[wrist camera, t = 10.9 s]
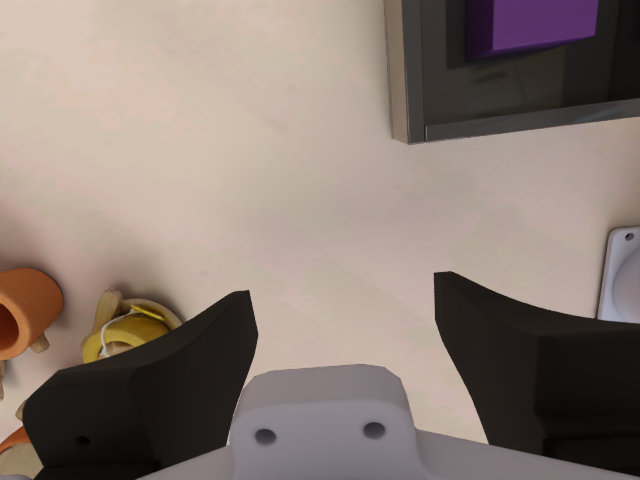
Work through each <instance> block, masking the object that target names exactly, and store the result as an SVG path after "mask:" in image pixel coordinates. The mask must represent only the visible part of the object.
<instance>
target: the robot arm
mask: <svg viewBox="0 0 640 480" xmlns="http://www.w3.org/2000/svg"><path fill="white" fill-rule="evenodd" d="M628 233H629V237H627V238H625V237H626V235H627V234H628ZM434 296H435V321H436V324H437V327H438V330H439V333H440V336H441V339H442V341H443V343H444V345H445V347H446V349H447V351H448V353H449V355H450V357H451V359H452V361H453V363H454V365H455V367H456V368H457V370H458V372H459V374H460V376H461V378H462V380H463V382H464V384H465V386H466V387H467V390H468V392H469V394H470V396H471V398H472V400H473V403H474V406H475V408H476V411H477V413H478V416H479V418H480V421H481V424H482V426H483V429H484V432H485V434H486V437H487V440H488V443H489V445H488V444H484V443H479V442H474V441H470V440H465V439H460V438H456V437H451V436H447V435H442V434H437V433H433V432H428V431H423V430H419V429H416V428H415V426H414V422H413V418H412V414H411V410H410V406H409V402H408V398H407V394H406V392H405V390H404V387H403V385H402V382H401V380H400V378H399V377H397V376H396V375H394V374H393V373H392V372H390V371H389V370H387V369H386V368H384V367H380V366H373V365H366V364H355V365H342V366H328V367H315V368H301V369H288V370H274V371H270V372H267V373H264V374H261V375H258V376H254V378H253V379H252V380H251V381H250V382H249V383H248V384H247V385H246V387H245V388H244V389H243V391H242V388H243V385H244V383H245V380H246V377H247V375H248V372H249V369H250V366H251V364H252V361H253V358H254V354H255V350H256V345H257V339H258V330H257V325H256V321H255V316H254V311H253V306H252V302H251V297H250V292H249V290H245V291H235V292H232V293H230V294H228V295H227V296H225V297H224V298H222V299H221V300H219V301H218V302H216V303H215V304H213V305H212V306H210V307H209V308H207V309H206V310H204V311H203V312H201V313H200V314H198V315H197V316H195V317H194V318H192V319H190V320H189V321H187V322H186V323H184V324H182V325H181V326H179V327H177V328H175V329H174V330H172V331H170V332H168V333H166V334H164V335H162V336H160V337H158V338H156V339H154V340H151V341H149V342H147V343H144V344H142V345H139V346H137V347H135V348H132V349H130V350H127V351H124V352H121V353H119V354H116V355H113V356H110V357H107V358H103V359H100V360H97V361H93V362H90V363H86V364H82V365H78V366H74V367H70V368H66V369H62V370H59V371H57V372H56V373H55V374H54V375H53V376H52V377H50V378H49V379H48V380H47V381H46V382H45V383H44V384H43V385H42V386H41V387H39V388H38V389H37V390H36V391H35V392H34V393H33V394H32V395H31V396H30V397H29V398H28V399H27V400H26V402H25V404H24V407H23V410H22V422H23V425H24V428H25V431H26V434H27V436H28V438H29V439H30V441H31V443H32V445H33V447H34V449H35V451H36V453H37V455H38V457H39V459H40V461H41V463H42V465H43V466H44V467H43V468H42V469H41V470H40V472H39V473H38V474H37V475H36V476H35V478H34V479H32V478H30V477H28V476H26V475H21V474H13V475H0V480H640V226H638V227H628V228H618V229H615V230H613V231H612V232H611V233H610V235H609V240H608V247H607V254H606V261H605V268H604V275H603V282H602V289H601V296H600V303H599V310H598V317H597V319H593V318H586V317H580V316H574V315H569V314H564V313H560V312H556V311H551V310H547V309H543V308H539V307H536V306H533V305H529V304H526V303H523V302H520V301H517V300H514V299H512V298H509V297H507V296H504V295H502V294H499V293H497V292H494V291H492V290H490V289H488V288H486V287H483V286H481V285H479V284H477V283H475V282H473V281H471V280H469V279H467V278H465V277H463V276H461V275H459V274H456V273H454V272H451V271H448V272H437V273H434ZM241 391H242V394H241ZM240 394H241V397H240V399H239V396H240ZM238 399H239V402H238ZM237 402H238V405H237ZM236 405H237V408H236ZM235 408H236V411H235ZM234 411H235V414H234ZM233 414H234V417H233ZM232 418H233V420H232ZM231 422H232V423H231ZM230 426H231V427H230ZM229 430H230V441H229V443H230V445H227V446H226V443H227V438H228V434H229Z"/></svg>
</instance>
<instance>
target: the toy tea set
mask: <svg viewBox="0 0 640 480" xmlns="http://www.w3.org/2000/svg"><path fill="white" fill-rule="evenodd" d="M62 308H63V297H62V294H61V291H60V289H59V287H58V286H57V285H56V283H55V282H54V281H53V280H52V279H51V278H50V277H48V276H47V275H45V274H44V273H42V272H40V271H37V270H34V269H30V268H16V269H13V270H9V271H5V272H2V273H0V401H1V400H3V398H4V391H3V386H2V383H1V382H2V380H3V378H4V375H5V362H4V360H7V359H11V358H14V357H16V356H18V355H20V354H22V353H23V352H24V351H25V350H26V349H27V348H28V347H29V346H30V347H31V348H32V350H33V351H34V352H35V353H40V352H42V351H44V350H46V349H48V348H49V345H50V344H49V342H48V340H47V338H46V336H45V335H44V331H45V330H46V329H47V328H48V327H49V326H50V325H51V324H52V323H53V322H54V321H55V320H56V319H57V318H58V316H59V315H60V313H61V312H62ZM181 325H182V323H181V321H180V320H179V319H178V318H177V316H176V315H175V314H174V313H173V312H171V311H170V310H169V309H167V308H166V307H164V306H162V305H160V304H158V303H156V302H153V301H150V300H146V299H126V300H123V296H122V294H121V292H119V291H118V290H115V289H108V290H107V291H106V292H104V293H103V294H102V295H101V296H100V299H99V302H98V306H97V311H96V316H95V323H94V327H93V330H92V332H91V333H90V334H89V335H88V336H87V337H85V338H84V340H83V341H82V343H81V352H82V354H83V362H84V364H86V363H90V362H93V361H97V360H100V359H103V358H107V357H110V356H113V355H116V354H119V353H121V352H124V351H127V350H130V349H132V348H135V347H137V346H139V345H142V344H144V343H147V342H149V341H151V340H154V339H156V338H158V337H160V336H162V335H164V334H166V333H168V332H170V331H172V330H174V329H175V328H177V327H179V326H181ZM25 402H26V400H25V401H24V402H23V403H22V404H21V405H20V406H19V408H18V410H17V412H16V413H15V415H16V417H17V418H18V419H19V420H20V421H22V410H23V407H24V404H25ZM43 467H44V466H43V465H42V463H41V461H40V459H39V457H38V455H37V453H36V451H35V449H34V447H33V445H32V443H31V441H30V439H29V438H28V436H27V434H26V431H25V428H24V425H23V426H22V427H21V428H19V429H18V430H17V431H15V432H14V433H13V434H11V435H10V436H9V437H8V438H7V439H5V440H4V441H3V442H2V443H1V444H0V475H13V474H21V475H26V476H28V477H30V478H32V479H34V478H35V476H36V475H37V474H38V473H39V472H40V470H41V469H42V468H43Z"/></svg>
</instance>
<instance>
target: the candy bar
mask: <svg viewBox="0 0 640 480" xmlns="http://www.w3.org/2000/svg"><path fill="white" fill-rule="evenodd" d="M598 3H599V0H466V62H470V61H477V60H484V59H491V58H498V57H505V56H512V55H519V54H526V53H533V52H540V51H547V50H551V49H554V48H557V47H561V46H564V45H567V44H570V43H573V42H576V41H579V40H583V39H586V38H589V37H592V36H594V35H595V31H596V22H597V13H598Z"/></svg>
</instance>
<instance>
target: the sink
mask: <svg viewBox="0 0 640 480" xmlns="http://www.w3.org/2000/svg"><path fill="white" fill-rule="evenodd" d="M384 16H385V33H386V50H387V67H388V84H389V101H390V118H391V135H392V139H395V140H397V141H400V142H403V143H405V144H408V145H413V144H421V143H429V142H437V141H445V140H454V139H462V138H470V137H478V136H486V135H494V134H502V133H510V132H518V131H526V130H534V129H542V128H550V127H558V126H566V125H574V124H582V123H590V122H599V121H607V120H615V119H623V118H631V117H639V116H640V0H599V3H598V13H597V22H596V31H595V35H594V36H592V37H589V38H586V39H583V40H579V41H576V42H573V43H570V44H567V45H564V46H561V47H557V48H554V49H551V50H547V51H540V52H533V53H526V54H519V55H512V56H505V57H498V58H491V59H484V60H477V61H470V62H466V0H384Z"/></svg>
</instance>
